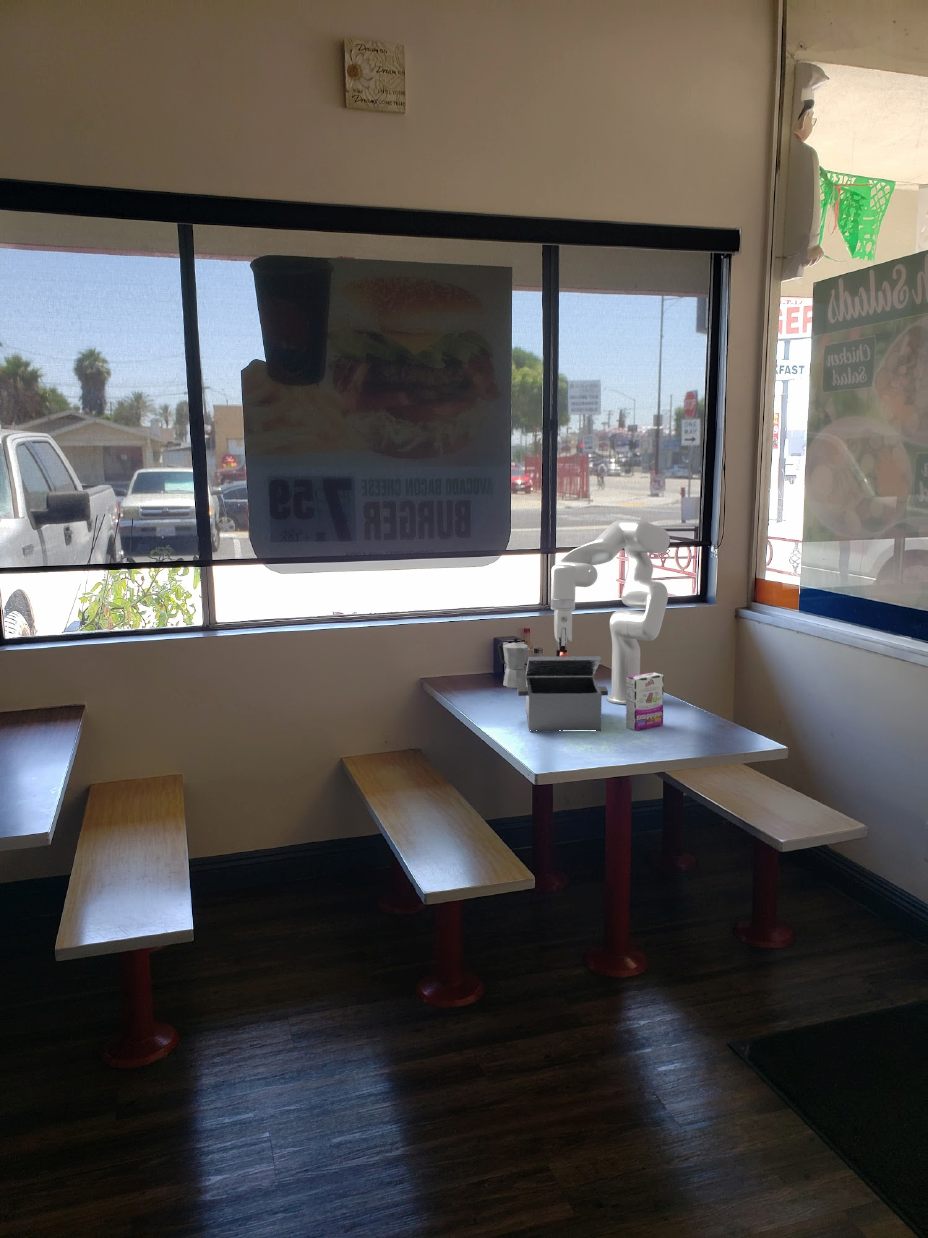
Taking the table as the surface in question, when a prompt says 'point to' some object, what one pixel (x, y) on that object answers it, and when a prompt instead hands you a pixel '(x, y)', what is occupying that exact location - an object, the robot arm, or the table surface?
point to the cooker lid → (562, 666)
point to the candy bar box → (644, 701)
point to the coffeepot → (514, 663)
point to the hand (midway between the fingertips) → (561, 662)
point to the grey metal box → (563, 703)
